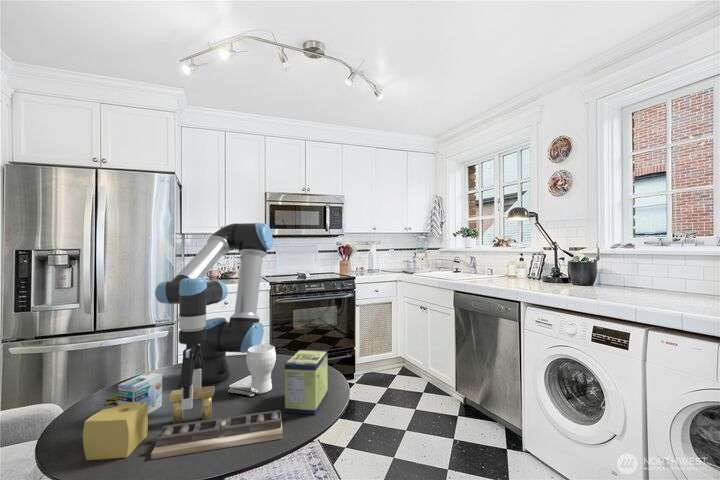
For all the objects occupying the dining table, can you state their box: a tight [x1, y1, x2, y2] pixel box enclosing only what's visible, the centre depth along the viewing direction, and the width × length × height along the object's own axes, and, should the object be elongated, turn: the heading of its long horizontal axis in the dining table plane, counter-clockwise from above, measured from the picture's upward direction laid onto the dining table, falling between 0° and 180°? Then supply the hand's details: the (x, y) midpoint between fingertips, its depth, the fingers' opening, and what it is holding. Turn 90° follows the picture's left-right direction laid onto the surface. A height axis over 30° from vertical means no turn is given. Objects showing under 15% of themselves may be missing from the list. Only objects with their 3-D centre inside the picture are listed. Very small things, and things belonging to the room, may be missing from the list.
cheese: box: [82, 402, 149, 461], centre depth 88 cm, size 10×11×10 cm
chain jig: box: [150, 409, 284, 460], centre depth 94 cm, size 12×32×4 cm, turn 106°
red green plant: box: [104, 393, 118, 406], centre depth 118 cm, size 12×12×5 cm
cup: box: [245, 344, 277, 394], centre depth 124 cm, size 11×11×15 cm
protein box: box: [284, 349, 329, 416], centre depth 113 cm, size 10×16×16 cm
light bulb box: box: [117, 372, 163, 415], centre depth 107 cm, size 11×7×11 cm, turn 166°
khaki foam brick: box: [168, 385, 216, 425], centre depth 102 cm, size 4×12×9 cm, turn 106°
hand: (191, 398), depth 102 cm, fingers open, 13 cm apart
